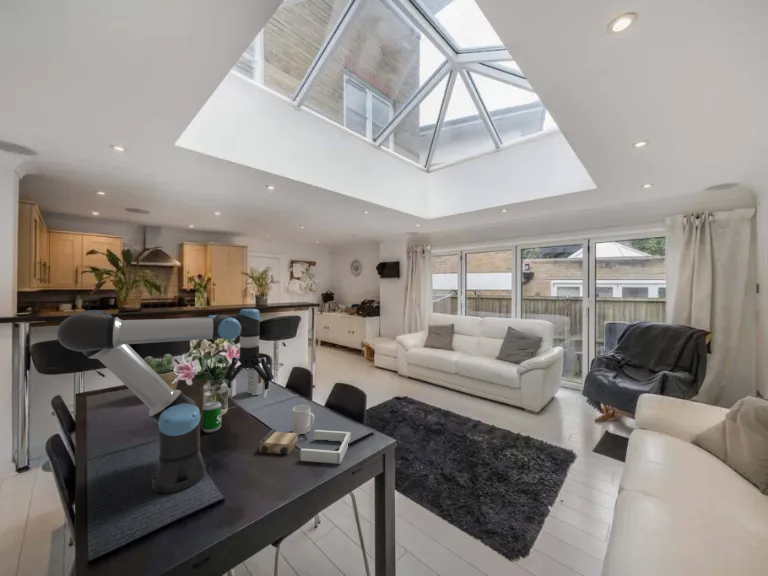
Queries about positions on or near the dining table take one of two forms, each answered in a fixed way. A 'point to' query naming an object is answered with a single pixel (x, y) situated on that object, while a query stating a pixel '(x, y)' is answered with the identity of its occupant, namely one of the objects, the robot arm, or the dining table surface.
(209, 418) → the soda can
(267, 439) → the trolley
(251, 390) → the supplement box
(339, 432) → the bay
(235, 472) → the dining table surface
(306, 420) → the mug
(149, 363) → the potted plant
